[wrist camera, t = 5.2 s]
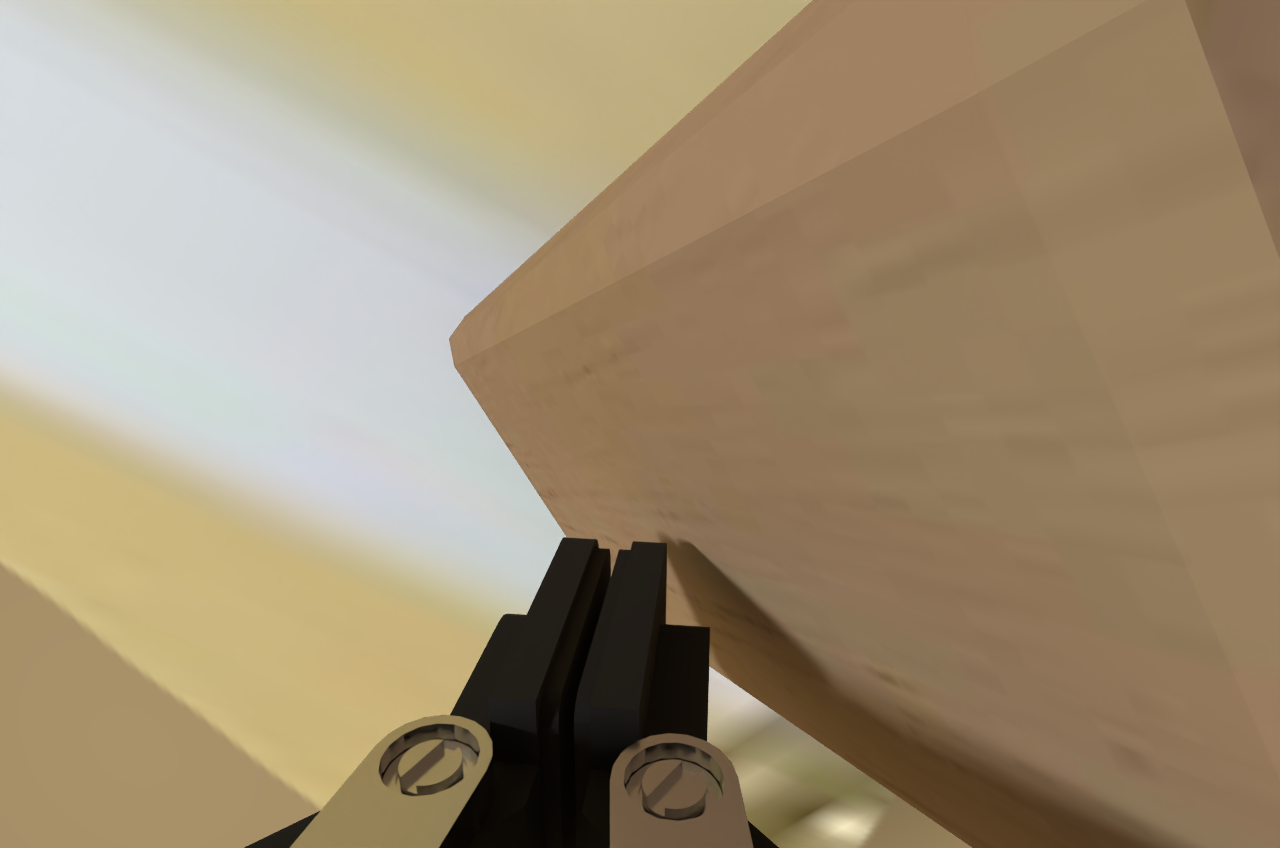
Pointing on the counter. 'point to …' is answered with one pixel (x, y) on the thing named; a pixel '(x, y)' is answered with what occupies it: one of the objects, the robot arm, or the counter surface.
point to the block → (950, 402)
